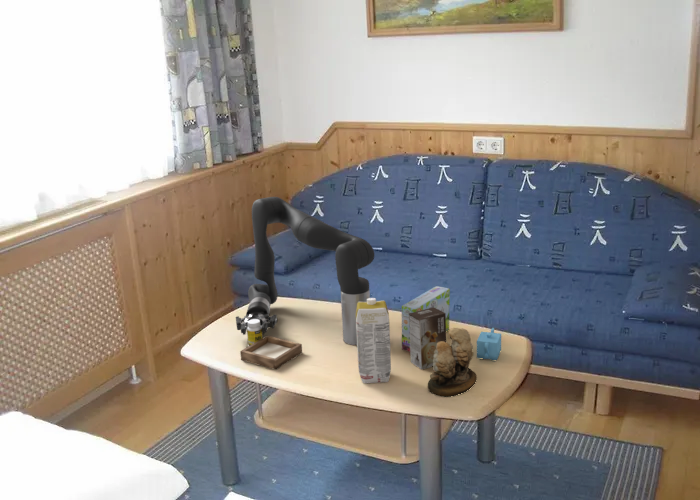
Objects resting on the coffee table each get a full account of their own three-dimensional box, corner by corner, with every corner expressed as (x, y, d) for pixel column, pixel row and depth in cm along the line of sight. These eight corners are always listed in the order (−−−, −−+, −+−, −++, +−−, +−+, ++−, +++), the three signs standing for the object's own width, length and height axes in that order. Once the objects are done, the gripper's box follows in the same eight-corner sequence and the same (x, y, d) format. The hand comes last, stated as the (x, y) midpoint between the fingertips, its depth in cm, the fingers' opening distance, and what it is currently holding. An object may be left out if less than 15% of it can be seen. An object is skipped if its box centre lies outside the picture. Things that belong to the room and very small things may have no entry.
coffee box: (435, 354, 222) (434, 306, 217) (447, 362, 216) (446, 313, 212) (409, 362, 218) (408, 312, 213) (421, 370, 212) (420, 320, 208)
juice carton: (390, 370, 213) (387, 294, 206) (392, 383, 206) (389, 305, 198) (358, 372, 213) (354, 296, 206) (359, 385, 206) (355, 306, 198)
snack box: (416, 354, 223) (415, 309, 218) (401, 350, 226) (399, 305, 222) (450, 330, 239) (450, 287, 234) (436, 326, 242) (435, 284, 238)
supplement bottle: (256, 349, 232) (254, 325, 229) (245, 346, 234) (243, 322, 232) (266, 343, 236) (264, 319, 233) (254, 341, 238) (252, 317, 236)
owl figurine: (451, 366, 215) (451, 312, 210) (487, 376, 208) (488, 321, 202) (417, 390, 201) (417, 334, 196) (454, 402, 194) (455, 344, 189)
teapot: (483, 346, 226) (483, 323, 224) (502, 348, 224) (503, 325, 222) (475, 362, 216) (475, 339, 213) (496, 365, 213) (496, 341, 211)
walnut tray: (302, 352, 228) (301, 344, 227) (276, 369, 218) (275, 360, 217) (267, 344, 235) (267, 335, 234) (241, 359, 225) (240, 351, 224)
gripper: (236, 302, 246) (229, 321, 230) (278, 299, 246) (275, 319, 230) (238, 322, 248) (232, 343, 232) (280, 320, 248) (276, 340, 232)
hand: (253, 331), depth 231 cm, fingers open, 5 cm apart
